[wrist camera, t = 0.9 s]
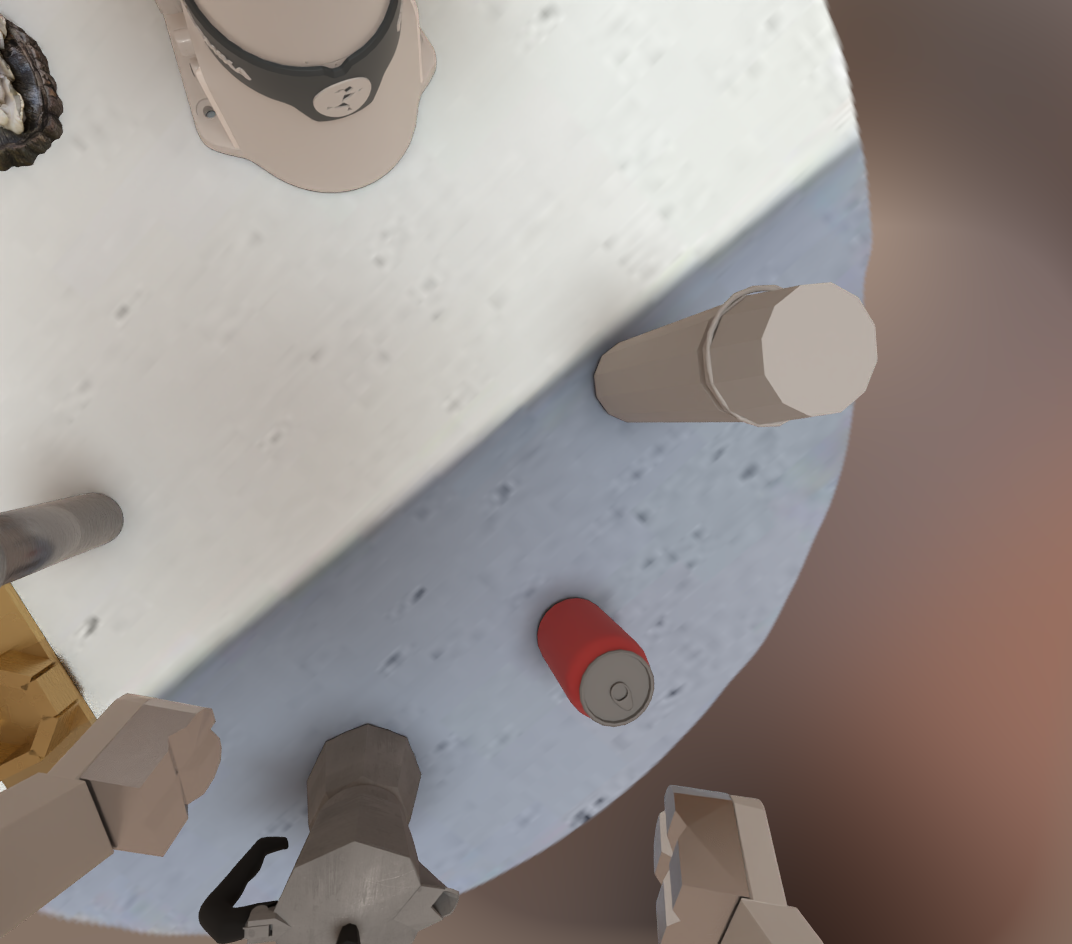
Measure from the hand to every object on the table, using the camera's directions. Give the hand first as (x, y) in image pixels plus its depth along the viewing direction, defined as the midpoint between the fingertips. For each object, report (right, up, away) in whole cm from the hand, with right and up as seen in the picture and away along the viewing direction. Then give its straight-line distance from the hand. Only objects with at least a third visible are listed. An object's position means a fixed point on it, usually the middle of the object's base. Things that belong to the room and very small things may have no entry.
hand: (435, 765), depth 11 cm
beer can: (+5, -9, +44) cm, 45 cm away
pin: (-31, +2, +35) cm, 47 cm away
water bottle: (+11, +13, +43) cm, 47 cm away
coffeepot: (-14, -21, +41) cm, 47 cm away
